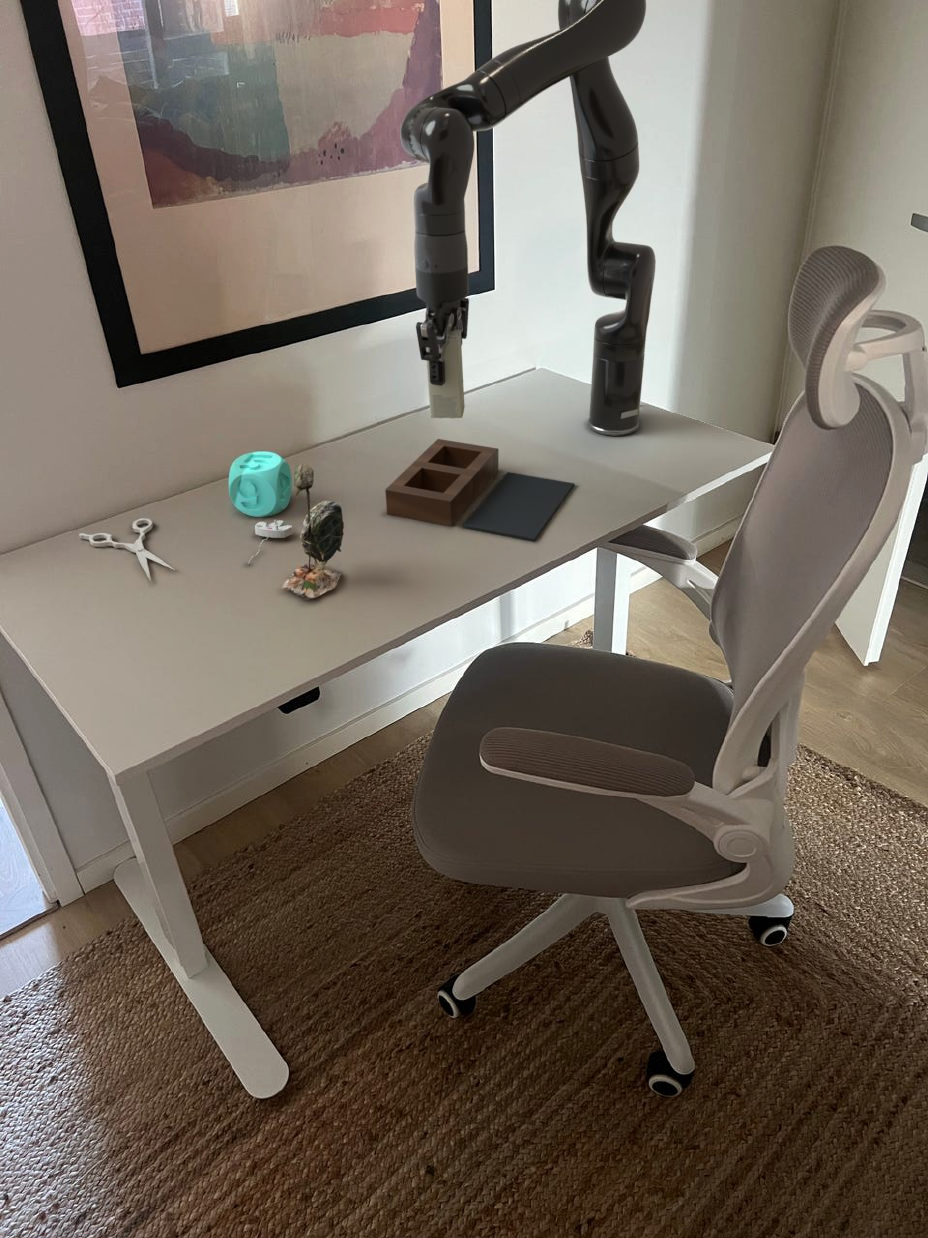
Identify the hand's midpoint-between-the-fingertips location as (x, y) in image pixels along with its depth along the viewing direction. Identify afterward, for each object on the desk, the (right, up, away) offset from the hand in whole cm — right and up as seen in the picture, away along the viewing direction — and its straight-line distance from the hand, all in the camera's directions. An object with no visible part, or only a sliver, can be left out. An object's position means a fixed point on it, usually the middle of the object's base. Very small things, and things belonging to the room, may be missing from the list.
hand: (445, 376), depth 150 cm
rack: (0, -15, +16) cm, 22 cm away
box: (0, -5, +4) cm, 6 cm away
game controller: (-28, -25, +3) cm, 38 cm away
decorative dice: (-30, -18, +13) cm, 38 cm away
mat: (+12, -18, +12) cm, 25 cm away
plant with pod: (-18, -31, -6) cm, 37 cm away
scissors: (-47, -27, +1) cm, 54 cm away
